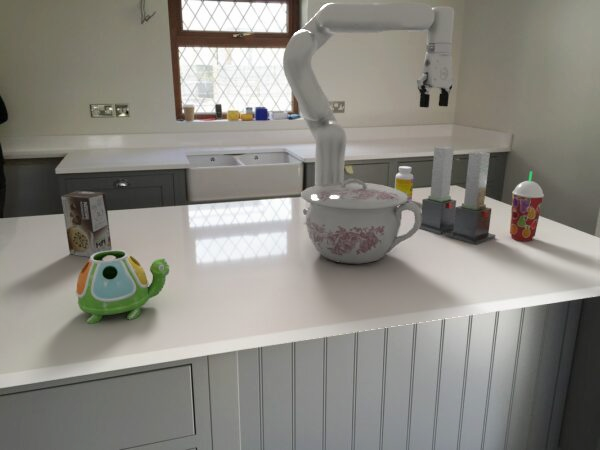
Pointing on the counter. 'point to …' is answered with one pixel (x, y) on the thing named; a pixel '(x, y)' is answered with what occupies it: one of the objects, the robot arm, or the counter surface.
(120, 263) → the turtle holder
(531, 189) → the smoothie
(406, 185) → the supplement bottle
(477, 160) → the twin stand
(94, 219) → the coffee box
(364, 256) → the chamber pot
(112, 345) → the counter surface
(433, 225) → the stand sleeve
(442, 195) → the column
